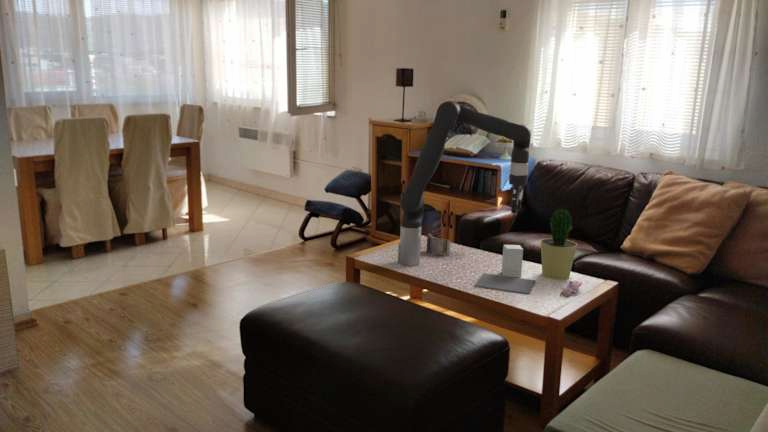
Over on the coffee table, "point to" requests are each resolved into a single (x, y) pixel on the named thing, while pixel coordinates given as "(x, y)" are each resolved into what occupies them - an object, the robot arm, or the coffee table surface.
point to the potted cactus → (558, 248)
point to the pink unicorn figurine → (571, 288)
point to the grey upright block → (438, 245)
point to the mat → (505, 283)
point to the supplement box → (512, 260)
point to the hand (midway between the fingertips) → (515, 211)
